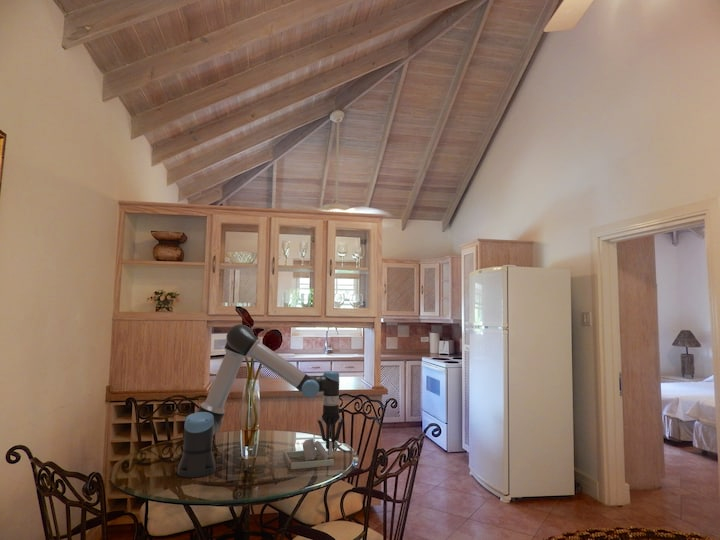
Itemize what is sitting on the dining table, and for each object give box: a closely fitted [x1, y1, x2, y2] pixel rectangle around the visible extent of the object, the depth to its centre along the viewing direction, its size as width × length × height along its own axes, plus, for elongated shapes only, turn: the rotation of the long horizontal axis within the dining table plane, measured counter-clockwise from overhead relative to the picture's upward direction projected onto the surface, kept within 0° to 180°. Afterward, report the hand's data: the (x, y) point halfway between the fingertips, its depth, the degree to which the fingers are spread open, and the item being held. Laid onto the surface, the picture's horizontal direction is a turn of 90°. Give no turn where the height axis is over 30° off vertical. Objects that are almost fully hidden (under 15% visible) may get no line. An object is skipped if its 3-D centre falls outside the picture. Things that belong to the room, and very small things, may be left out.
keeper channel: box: [283, 448, 335, 470], centre depth 201 cm, size 20×18×3 cm
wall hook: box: [302, 438, 330, 462], centre depth 204 cm, size 8×10×10 cm
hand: (330, 456), depth 205 cm, fingers closed
